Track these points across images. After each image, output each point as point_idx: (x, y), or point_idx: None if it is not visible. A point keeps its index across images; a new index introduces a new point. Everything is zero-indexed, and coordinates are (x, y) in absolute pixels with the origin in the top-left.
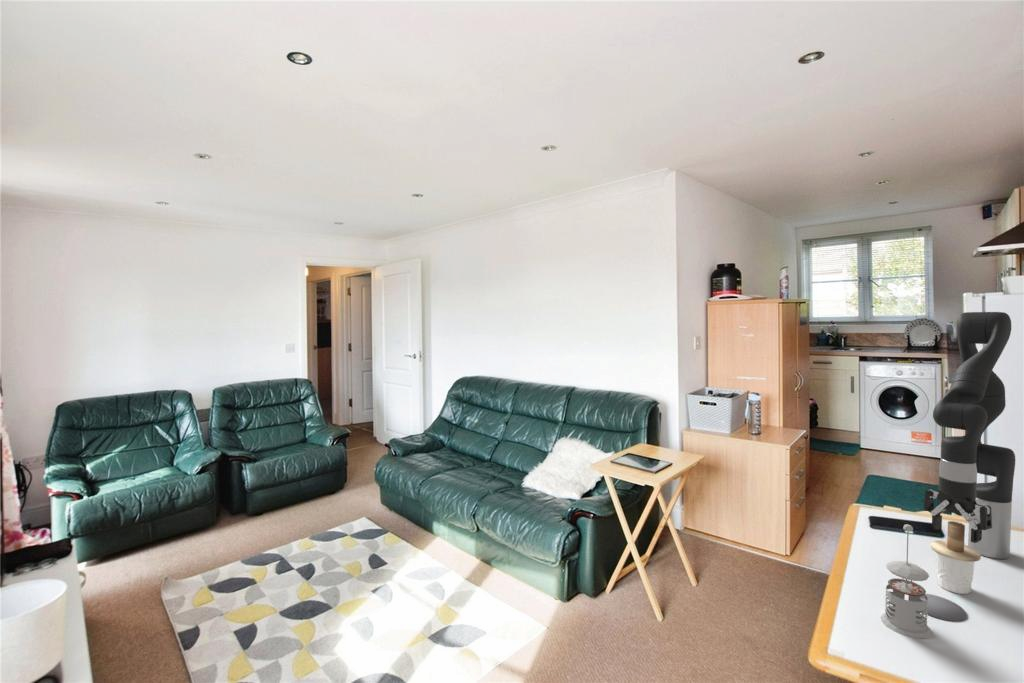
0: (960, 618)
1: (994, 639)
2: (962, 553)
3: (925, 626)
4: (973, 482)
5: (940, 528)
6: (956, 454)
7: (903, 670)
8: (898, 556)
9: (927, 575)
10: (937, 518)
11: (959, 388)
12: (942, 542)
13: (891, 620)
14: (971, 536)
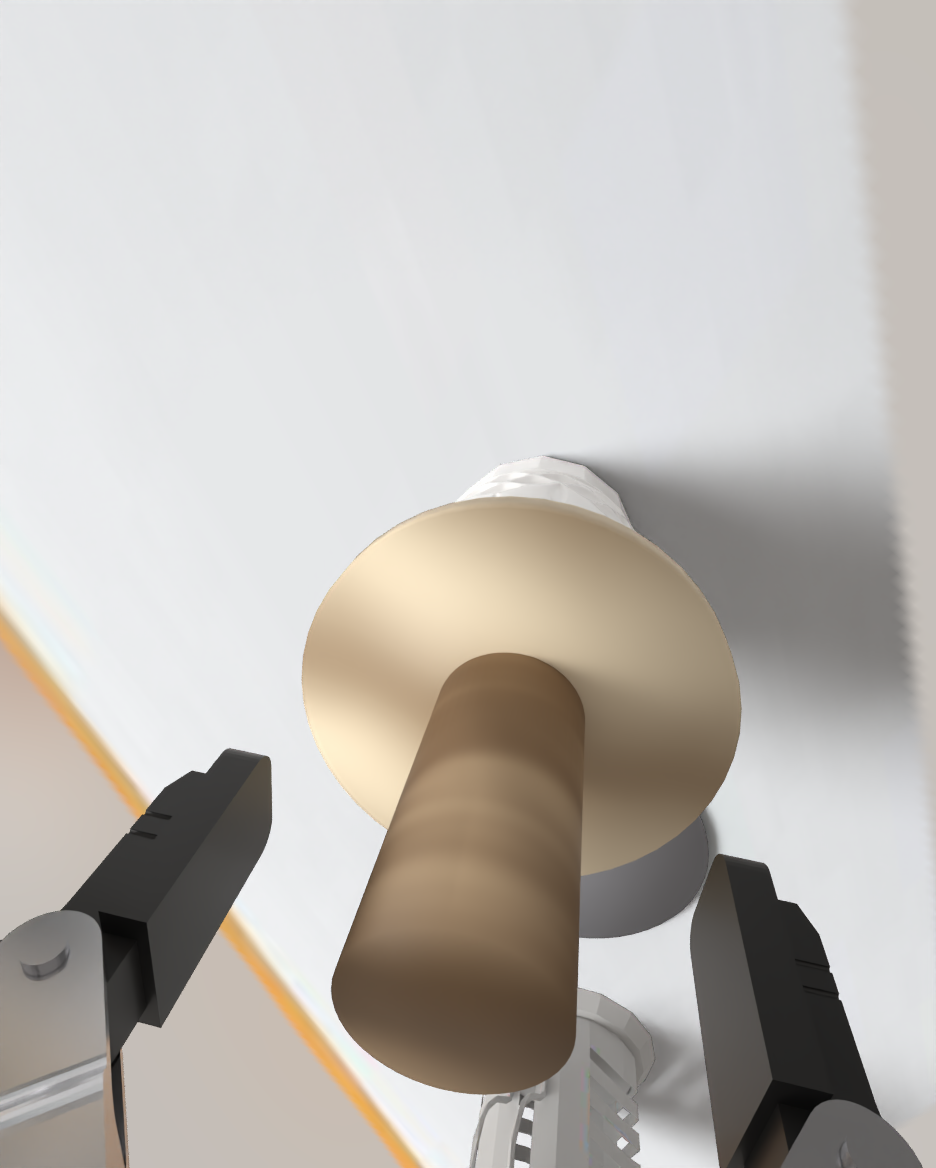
0: (697, 885)
1: (854, 928)
2: (593, 767)
3: (636, 1088)
4: None
5: (268, 772)
6: None
7: None
8: (121, 379)
9: None
10: (178, 987)
11: None
12: (358, 646)
13: (528, 1093)
14: (707, 1019)
